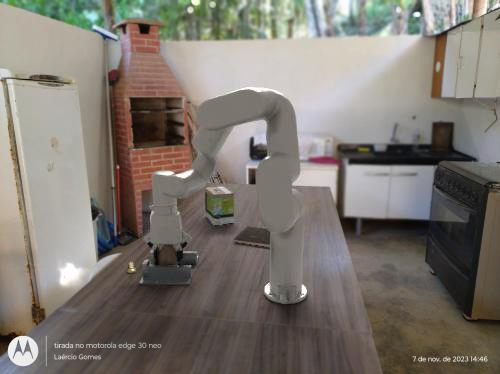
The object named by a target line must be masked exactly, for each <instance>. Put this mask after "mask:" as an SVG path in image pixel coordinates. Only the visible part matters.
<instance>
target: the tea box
mask: <svg viewBox="0 0 500 374" xmlns="http://www.w3.org/2000/svg"><path fill="white" fill-rule="evenodd" d="M204 201H205V202H204V208H205V209H204V210H205V211H204V212H205V217H207V218H208V219H209V220H210V221H211V222H210V221H209V220H208V219H207V218H206V219H207V220H208V221H209V222H210V223H211V224H212V226H214V225H219V226H221V225H220V224H226V223H235V193H234V192H233V191H231V190H230V189H229V188H228V187H225V186H223V185H221V186H214V187H213V186H212V187H210V186H209V187H204Z"/></svg>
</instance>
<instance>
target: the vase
mask: <svg viewBox="0 0 500 374" xmlns="http://www.w3.org/2000/svg"><path fill="white" fill-rule="evenodd" d="M177 251H178V248H176V246H175V245H174V244H173V245H162V247H161V248H160V249H159V254H158V261H159V264H158V265H179V264H178V263H179V261H178V253H177Z"/></svg>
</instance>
